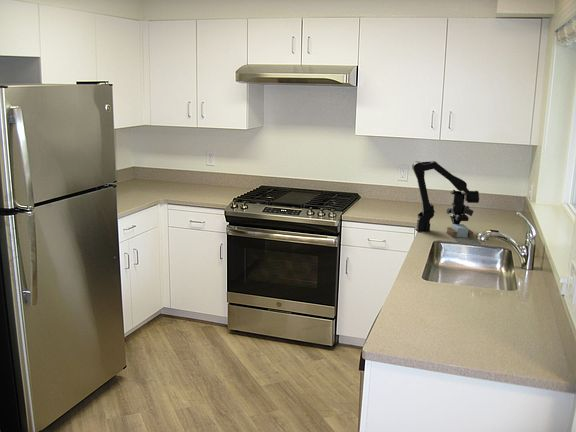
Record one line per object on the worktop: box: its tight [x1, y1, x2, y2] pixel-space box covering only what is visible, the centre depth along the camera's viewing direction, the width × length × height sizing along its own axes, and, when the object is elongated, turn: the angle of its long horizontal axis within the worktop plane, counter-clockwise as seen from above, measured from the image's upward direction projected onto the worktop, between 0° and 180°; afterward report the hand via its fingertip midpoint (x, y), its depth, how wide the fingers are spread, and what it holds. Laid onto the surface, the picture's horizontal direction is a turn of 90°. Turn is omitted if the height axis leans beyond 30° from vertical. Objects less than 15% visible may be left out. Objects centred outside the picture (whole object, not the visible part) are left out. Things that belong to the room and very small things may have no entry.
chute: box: [446, 226, 474, 238], centre depth 326 cm, size 12×10×3 cm
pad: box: [451, 237, 482, 245], centre depth 316 cm, size 12×12×1 cm
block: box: [451, 223, 470, 237], centre depth 326 cm, size 6×8×5 cm
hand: (455, 229), depth 333 cm, fingers closed
